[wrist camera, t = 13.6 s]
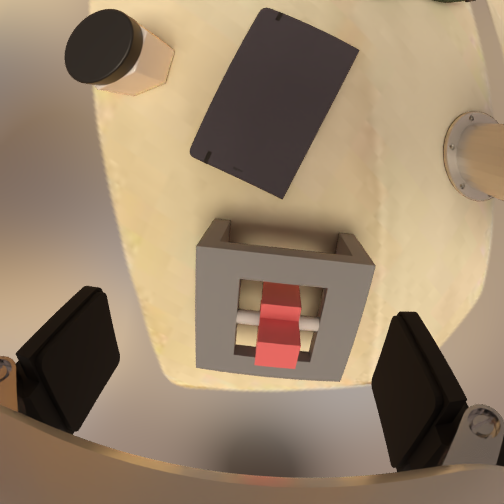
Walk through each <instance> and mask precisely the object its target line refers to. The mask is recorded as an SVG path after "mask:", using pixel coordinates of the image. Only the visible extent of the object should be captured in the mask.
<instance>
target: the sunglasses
mask: <svg viewBox="0 0 504 504" xmlns="http://www.w3.org/2000/svg"><path fill="white" fill-rule="evenodd" d="M434 1H439V2H446V3H451V2H461V1H465V2H470V1H475V0H434Z"/></svg>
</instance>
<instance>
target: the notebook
mask: <svg viewBox="0 0 504 504" xmlns="http://www.w3.org/2000/svg"><path fill="white" fill-rule="evenodd" d="M358 52H359V50H358V49H356V48H355V47H353V46H351V45H349V44H347V43H345V42H343V41H342V40H340V39H338V38H336V37H334V36H332V35H330V34H328V33H326V32H324V31H322V30H319V29H317V28H315V27H313V26H311V25H309V24H306V23H304V22H302V21H300V20H297V19H295V18H293V17H290V16H288V15H285V14H283V13H281V12H278V11H275V10H273V9H270V8H263V9H262V10H261V11H260V12H259V14H258V15H257V17H256V19H255V20H254V22H253V24H252V26H251V27H250V29H249V31H248V33H247V35H246V36H245V38H244V40H243V42H242V44H241V45H240V47H239V49H238V51H237V53H236V55H235V57H234V58H233V60H232V62H231V64H230V66H229V68H228V70H227V72H226V74H225V76H224V78H223V80H222V82H221V84H220V86H219V88H218V90H217V92H216V94H215V96H214V98H213V100H212V102H211V104H210V106H209V108H208V111H207V113H206V115H205V117H204V119H203V121H202V123H201V126H200V128H199V130H198V132H197V134H196V137H195V139H194V141H193V143H192V146H191V148H190V155H191V156H192V157H194V158H195V159H198V160H200V161H202V162H204V163H206V164H209V165H211V166H213V167H215V168H218V169H220V170H222V171H224V172H226V173H228V174H231V175H233V176H235V177H237V178H239V179H241V180H243V181H246V182H248V183H250V184H252V185H254V186H256V187H258V188H260V189H262V190H264V191H266V192H268V193H270V194H273V195H275V196H277V197H279V198H281V199H283V197H284V196H285V194H286V192H287V190H288V188H289V186H290V184H291V182H292V180H293V178H294V176H295V174H296V172H297V170H298V169H299V167H300V165H301V163H302V161H303V159H304V157H305V155H306V153H307V151H308V149H309V147H310V145H311V143H312V142H313V140H314V138H315V136H316V134H317V132H318V130H319V128H320V126H321V124H322V122H323V120H324V118H325V116H326V114H327V113H328V111H329V109H330V107H331V105H332V103H333V101H334V99H335V97H336V95H337V93H338V91H339V89H340V87H341V85H342V83H343V82H344V80H345V78H346V76H347V74H348V72H349V70H350V68H351V66H352V64H353V62H354V60H355V58H356V56H357V54H358Z"/></svg>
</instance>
